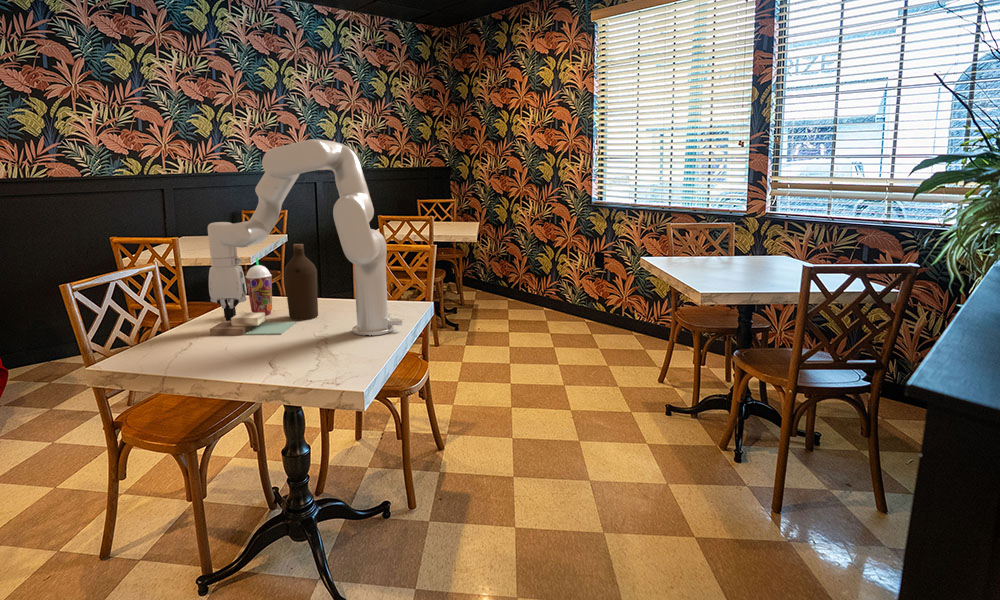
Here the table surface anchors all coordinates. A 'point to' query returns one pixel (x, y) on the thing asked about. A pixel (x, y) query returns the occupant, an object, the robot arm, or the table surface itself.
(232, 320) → the tile
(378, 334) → the robot arm
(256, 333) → the mat
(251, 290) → the smoothie
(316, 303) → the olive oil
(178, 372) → the table surface
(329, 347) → the table surface
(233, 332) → the deck
